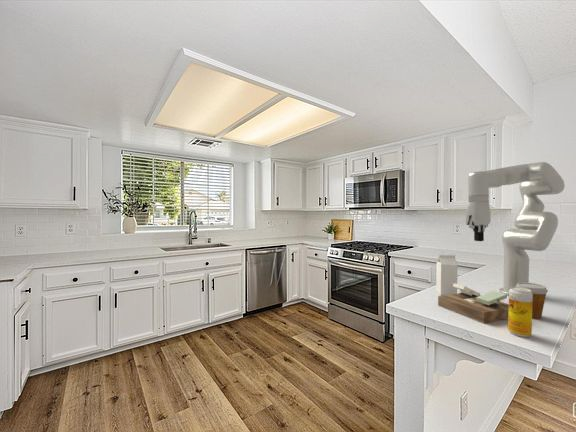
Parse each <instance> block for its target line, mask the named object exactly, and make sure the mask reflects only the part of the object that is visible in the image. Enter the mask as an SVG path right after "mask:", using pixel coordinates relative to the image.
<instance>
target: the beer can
mask: <svg viewBox="0 0 576 432" xmlns="http://www.w3.org/2000/svg"><path fill="white" fill-rule="evenodd" d="M532 303H533V294H532V292H531V290H529V289H526V288H520V287H511V289H510V290H509V295H508V304H509V313H508V319H507V321H508V322H507V324H508V325H507V330H508V331H509V333H510V334H512V335H514V336H517V337H520V338H529V337H530V336H531V335H532V333H533V332H532V331H533V326H532V325H533V318H532Z"/></svg>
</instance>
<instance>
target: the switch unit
mask: <svg viewBox="0 0 576 432" xmlns="http://www.w3.org/2000/svg"><path fill="white" fill-rule="evenodd" d="M481 295H482V294H481ZM481 295H480V296H481ZM476 297H478V296H474V295H472V296H470V295H467V294H464V293H461V292H459V293H458V292H457V294H450V295H438V296H437V298H438V299H437V305H438V307H439V306H440V307H441V308H444V309H447V310H449V311H452V312H454V313H457V314H459V315H462V316H464V317H467V318H469V319H472V320H474V321H477V322H479V323H482V324H486V323H493V322H498V321H504V320H508V313H509V303H506V302H504V301H500V303H499V304H496V303H493V304H491V305H487V304H484V303H481V302H478V301H476Z"/></svg>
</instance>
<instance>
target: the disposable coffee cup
mask: <svg viewBox="0 0 576 432" xmlns="http://www.w3.org/2000/svg"><path fill="white" fill-rule="evenodd" d="M516 287H520V288H526V289H529V290H531V292H532V294H533V303H532V320H533V319H535V320H539V319H542V317H543V316H542V315H543V310H544V306H545V302H546V301H545V300H546V296H547V294H548V292H549V290H548V289H547V287H546V286H545V285H542V284H539V283H535V282H534V283H532V282H529V283H526V282H520V283H517V286H516Z"/></svg>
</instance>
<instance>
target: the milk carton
mask: <svg viewBox="0 0 576 432" xmlns="http://www.w3.org/2000/svg"><path fill="white" fill-rule="evenodd" d="M458 267H459V265H458V262H457V259H456V255H455V254H439V255H438V258H437V260H436V276H435V277H436V279H435V280H436V281H435V285H436V286H435V287H436V288H435V289H436V290H435V291H436V292H437V294H439V296H443V295H450V294H458V289H457V288H455V287H453V284H454V283H455V284H458Z"/></svg>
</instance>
